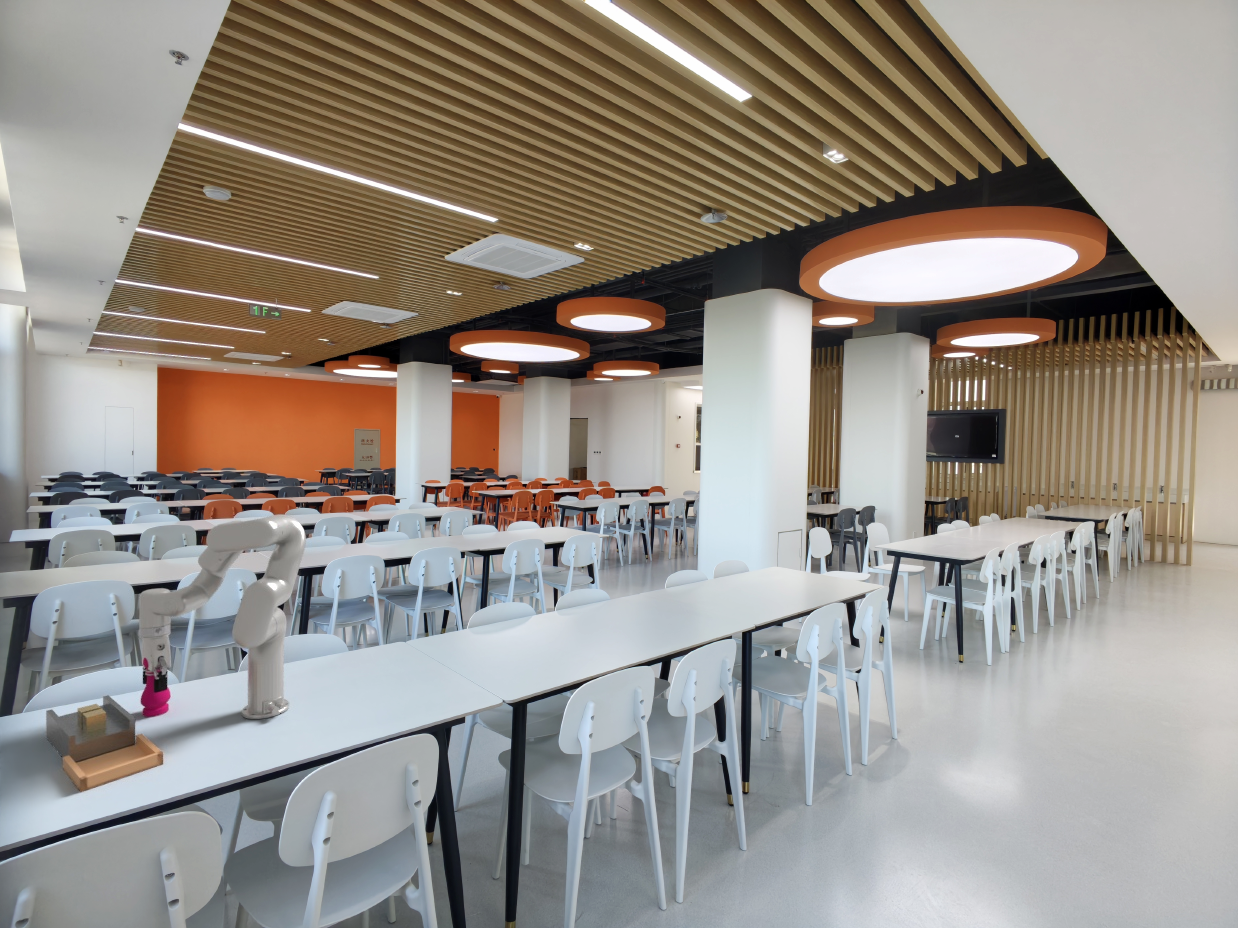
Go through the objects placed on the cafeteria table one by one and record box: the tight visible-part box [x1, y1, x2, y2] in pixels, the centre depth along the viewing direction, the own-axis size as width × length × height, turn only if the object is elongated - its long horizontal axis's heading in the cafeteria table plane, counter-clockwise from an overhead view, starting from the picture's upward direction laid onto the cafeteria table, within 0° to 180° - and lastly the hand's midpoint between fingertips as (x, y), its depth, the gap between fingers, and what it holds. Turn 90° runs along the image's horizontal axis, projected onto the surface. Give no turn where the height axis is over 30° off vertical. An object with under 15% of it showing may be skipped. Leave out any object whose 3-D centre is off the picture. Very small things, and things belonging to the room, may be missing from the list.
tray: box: [62, 733, 164, 793], centre depth 153 cm, size 16×16×3 cm
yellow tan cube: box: [76, 703, 101, 727], centre depth 166 cm, size 4×4×4 cm
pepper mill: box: [140, 658, 171, 718], centre depth 183 cm, size 7×7×20 cm
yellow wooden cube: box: [83, 709, 106, 733], centre depth 163 cm, size 4×4×4 cm
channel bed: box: [45, 695, 136, 763], centre depth 165 cm, size 24×13×8 cm, turn 53°
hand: (154, 686), depth 183 cm, fingers open, 9 cm apart
